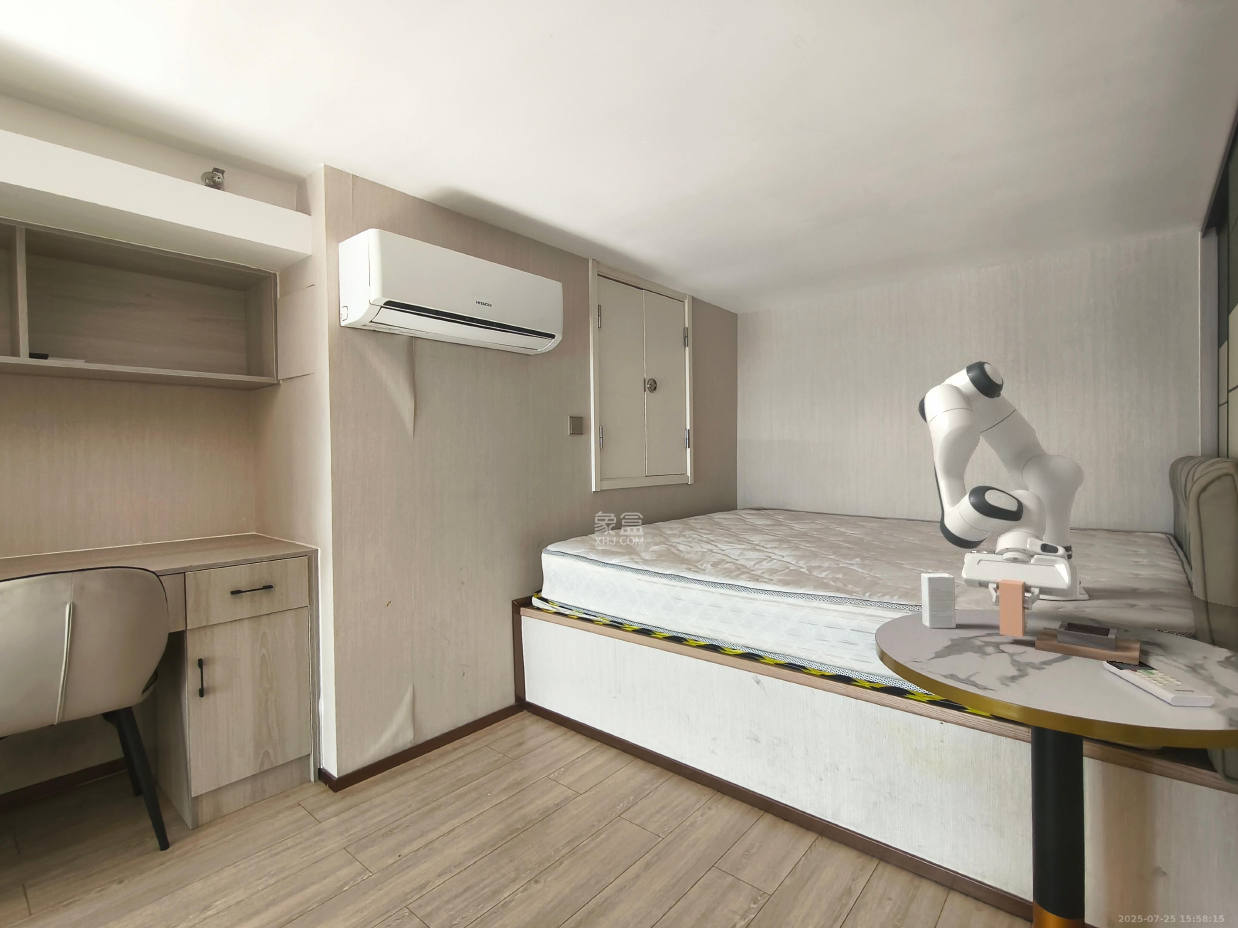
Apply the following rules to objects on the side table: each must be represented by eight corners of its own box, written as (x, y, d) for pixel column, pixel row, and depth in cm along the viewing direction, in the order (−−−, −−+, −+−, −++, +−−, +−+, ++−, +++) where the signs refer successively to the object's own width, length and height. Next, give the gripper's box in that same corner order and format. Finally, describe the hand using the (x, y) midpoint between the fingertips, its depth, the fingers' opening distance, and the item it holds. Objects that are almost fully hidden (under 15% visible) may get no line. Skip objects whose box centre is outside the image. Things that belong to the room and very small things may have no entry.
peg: (1003, 629, 130) (1002, 579, 130) (1025, 632, 127) (1024, 581, 127) (999, 634, 127) (998, 582, 127) (1022, 637, 124) (1021, 584, 124)
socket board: (1044, 633, 133) (1043, 615, 132) (1139, 648, 122) (1139, 628, 122) (1035, 648, 123) (1034, 629, 123) (1138, 666, 112) (1138, 645, 112)
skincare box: (947, 623, 142) (947, 572, 142) (956, 628, 138) (955, 576, 138) (921, 623, 143) (920, 572, 143) (928, 628, 139) (927, 576, 138)
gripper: (963, 541, 139) (953, 591, 132) (1074, 548, 125) (1069, 605, 118) (968, 557, 142) (959, 607, 135) (1076, 566, 129) (1072, 622, 122)
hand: (1011, 606), depth 127 cm, fingers closed on peg, 4 cm apart
